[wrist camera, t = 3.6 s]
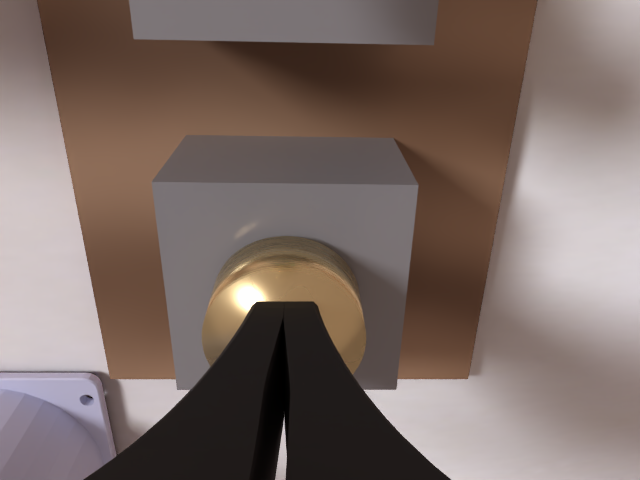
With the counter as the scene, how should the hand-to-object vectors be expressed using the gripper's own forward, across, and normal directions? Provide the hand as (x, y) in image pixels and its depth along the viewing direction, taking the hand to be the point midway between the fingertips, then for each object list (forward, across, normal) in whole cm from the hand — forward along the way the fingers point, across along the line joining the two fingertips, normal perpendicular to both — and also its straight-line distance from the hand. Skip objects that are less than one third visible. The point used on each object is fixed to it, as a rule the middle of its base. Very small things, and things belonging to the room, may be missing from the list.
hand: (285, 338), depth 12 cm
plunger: (+5, 0, 0) cm, 5 cm away
